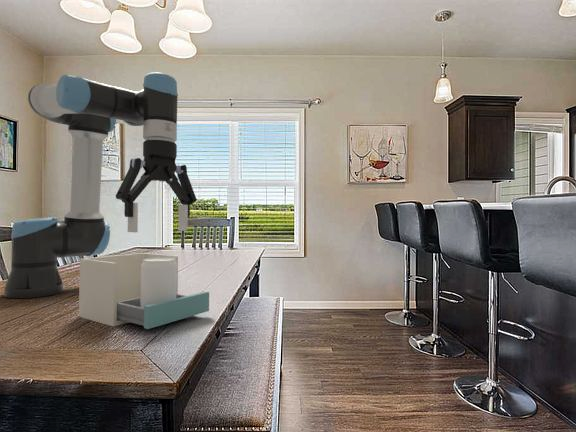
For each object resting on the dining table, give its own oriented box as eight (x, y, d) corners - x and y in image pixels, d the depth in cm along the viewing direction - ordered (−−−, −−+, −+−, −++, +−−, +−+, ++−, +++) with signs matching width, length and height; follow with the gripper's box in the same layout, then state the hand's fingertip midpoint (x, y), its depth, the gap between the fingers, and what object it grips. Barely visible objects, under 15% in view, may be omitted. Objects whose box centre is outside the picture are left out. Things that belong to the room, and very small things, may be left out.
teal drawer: (107, 318, 83) (107, 297, 83) (170, 303, 98) (170, 285, 98) (147, 329, 76) (148, 306, 76) (209, 310, 91) (209, 292, 91)
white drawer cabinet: (79, 316, 89) (79, 258, 89) (143, 302, 104) (144, 252, 104) (113, 326, 82) (114, 263, 82) (177, 309, 97) (178, 256, 97)
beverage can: (182, 306, 91) (182, 258, 91) (165, 315, 83) (165, 262, 83) (152, 304, 93) (153, 256, 93) (133, 312, 85) (133, 260, 85)
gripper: (117, 129, 75) (116, 233, 75) (211, 148, 95) (210, 230, 95) (99, 133, 79) (98, 232, 79) (192, 150, 100) (191, 229, 100)
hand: (159, 231), depth 87 cm, fingers open, 13 cm apart
